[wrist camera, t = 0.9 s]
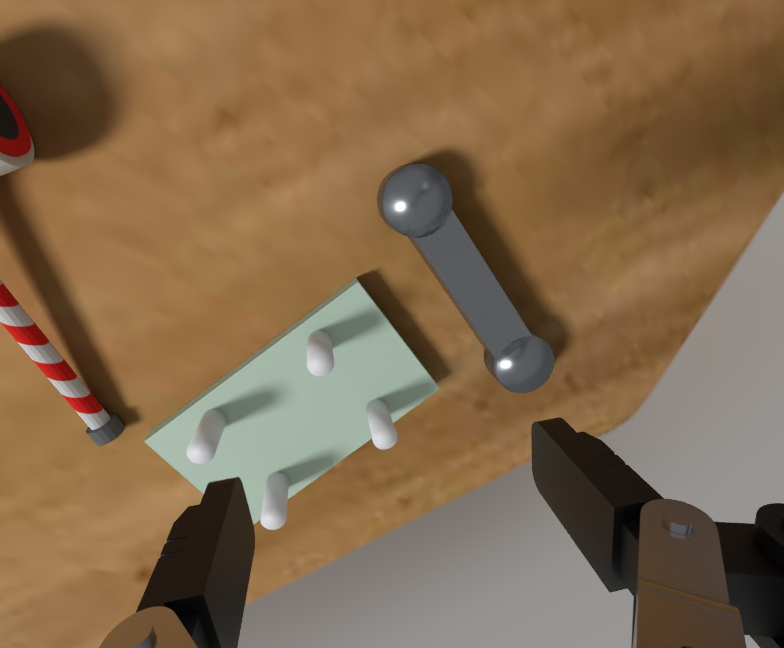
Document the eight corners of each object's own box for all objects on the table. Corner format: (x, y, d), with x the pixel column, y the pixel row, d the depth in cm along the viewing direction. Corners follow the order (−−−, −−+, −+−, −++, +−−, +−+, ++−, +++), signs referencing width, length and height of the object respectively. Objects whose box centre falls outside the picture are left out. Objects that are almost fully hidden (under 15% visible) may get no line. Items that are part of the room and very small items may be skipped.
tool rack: (355, 277, 31) (364, 295, 26) (434, 380, 34) (456, 415, 29) (151, 430, 32) (120, 477, 27) (247, 516, 35) (236, 574, 30)
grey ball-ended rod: (363, 192, 30) (368, 193, 27) (418, 151, 29) (427, 148, 27) (501, 389, 36) (515, 404, 33) (547, 356, 36) (564, 369, 33)
